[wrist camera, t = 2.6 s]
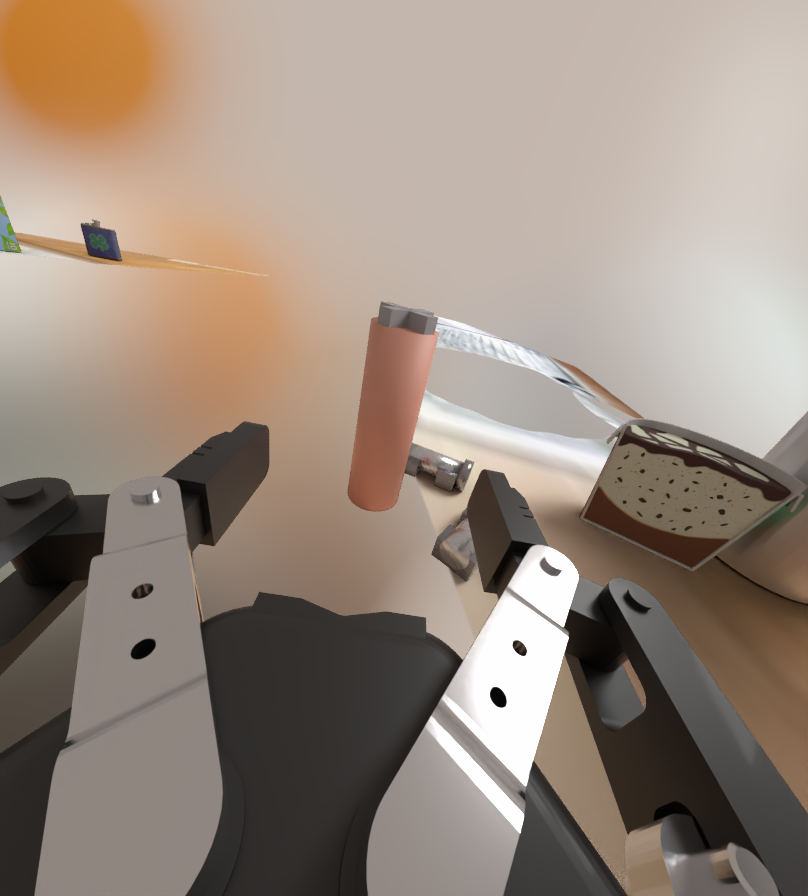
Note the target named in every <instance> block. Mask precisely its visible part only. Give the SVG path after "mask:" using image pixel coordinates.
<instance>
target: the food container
mask: <svg viewBox="0 0 808 896" xmlns="http://www.w3.org/2000/svg"><path fill="white" fill-rule="evenodd" d="M618 436H619V437H618ZM615 437H618V439H617V441H616V443H615V445H614V447H613V449H612V451H611V453H610V455H609V457H608V459H607V461H606V463H605V465H604V467H603V470H602V472H601V474H600V476H599V478H598V480H597V482H596V484H595V486H594V488H593V490H592V492H591V494H590V496H589V498H588V500H587V502H586V505H585V507H584V509H583V511H582V513H581V515H580V519H581V520H583V521H586V522H588V523H590V524H592V525H594V526H596V527H598V528H600V529H603V530H605V531H607V532H609V533H611V534H613V535H615V536H617V537H620V538H622V539H624V540H626V541H628V542H630V543H632V544H634V545H637V546H639V547H641V548H643V549H645V550H647V551H649V552H652V553H654V554H656V555H658V556H660V557H662V558H664V559H666V560H669V561H671V562H673V563H675V564H677V565H679V566H681V567H683V568H686V569H688V570H690V571H692V572H694V571H695V570H697V569H698V568H699V567H701V566H702V565H703V564H705V563H706V562H707V561H709V560H710V559H712V558H713V557H714V556H716V555H717V554H718V553H720V552H721V551H723V550H724V549H725V548H727V547H728V546H729V545H731V544H732V543H733V542H735V541H736V540H738V539H739V538H740V537H742V536H743V535H744V534H746V533H747V532H749V531H750V530H751V529H753V528H754V527H755V526H757V525H758V524H760V523H761V522H762V521H764V520H765V519H766V518H768V517H769V516H770V515H772V514H773V513H775V512H776V511H777V510H779V509H780V508H781V507H783V506H784V507H785V508H786V509H787V510H789V511H790V512H794V510H795V509H796V507H797V506H798V504H799V503H800V502H801V500H802V499H803V497H804V496H805V495H803V494H802V492H803V491H804V490H805V489H806V488H807V486H806V485H805V484H804V483H802V482H801V481H800V480H798V479H796V478H795V477H793V476H792V475H790V474H788V473H787V472H785V471H783V470H781V469H780V468H778V467H776V466H774V465H772V464H770V463H768V462H767V461H764V460H762V459H760V458H758V457H756V456H754V455H752V454H750V453H748V452H745V451H743V450H741V449H739V448H736V447H734V446H732V445H729V444H727V443H724V442H722V441H719V440H717V439H714V438H712V437H708V436H706V435H703V434H701V433H698V432H694V431H692V430H689V429H685V428H682V427H678V426H675V425H672V424H668V423H664V422H659V421H654V420H649V419H639V418H636V419H630V420H628V421H627V422H626V424H623V425H621V426H620V427H619V428H618V429H617V430H616V431H615V432H614V433H613V434H612V435H611V436H610V437H609V438H608V439H607V443H608V444H609V443H610V442H611V441H612V440H613V439H614V438H615Z"/></svg>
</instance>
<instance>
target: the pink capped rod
mask: <svg viewBox="0 0 808 896" xmlns="http://www.w3.org/2000/svg"><path fill="white" fill-rule="evenodd" d="M433 314H434V313H432V312H428V311H425V310H421V309H412V308H411V309H410V308H406V307H403V306H399V305H397V304H394V303H388V302H381V305H380V310H379V316H378V317H377V318H372V319H371V325H370V332H369V340H368V347H367V354H366V362H365V369H364V377H363V384H362V391H361V399H360V406H359V413H358V420H357V427H356V435H355V442H354V449H353V457H352V464H351V472H350V479H349V486H348V496H349V498H350V500H351V501H352V502H353V503H354V504H355V505H356V506H358V507H360V508H362V509H365V510H369V511H384V510H388V509H390V508H392V507H393V506H394V505H395V504H396V502H397V499H398V496H399V492H400V488H401V484H402V480H403V476H404V472H405V468H406V464H407V460H408V456H409V452H410V448H411V444H412V440H413V435H414V431H415V427H416V423H417V419H418V415H419V411H420V407H421V403H422V399H423V395H424V391H425V387H426V383H427V379H428V375H429V371H430V367H431V363H432V359H433V355H434V350H435V347H436V343H437V338H438V334H439V333H438V332H436V331H435V328H436V324H437V320H438V318H437V317H434V316H433Z"/></svg>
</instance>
